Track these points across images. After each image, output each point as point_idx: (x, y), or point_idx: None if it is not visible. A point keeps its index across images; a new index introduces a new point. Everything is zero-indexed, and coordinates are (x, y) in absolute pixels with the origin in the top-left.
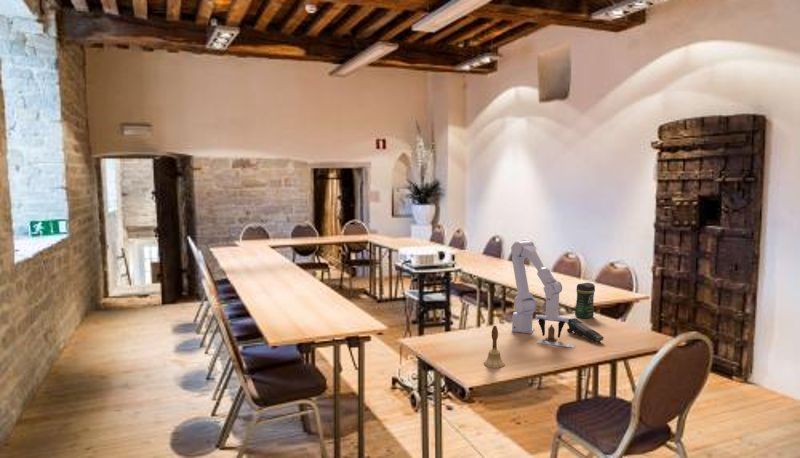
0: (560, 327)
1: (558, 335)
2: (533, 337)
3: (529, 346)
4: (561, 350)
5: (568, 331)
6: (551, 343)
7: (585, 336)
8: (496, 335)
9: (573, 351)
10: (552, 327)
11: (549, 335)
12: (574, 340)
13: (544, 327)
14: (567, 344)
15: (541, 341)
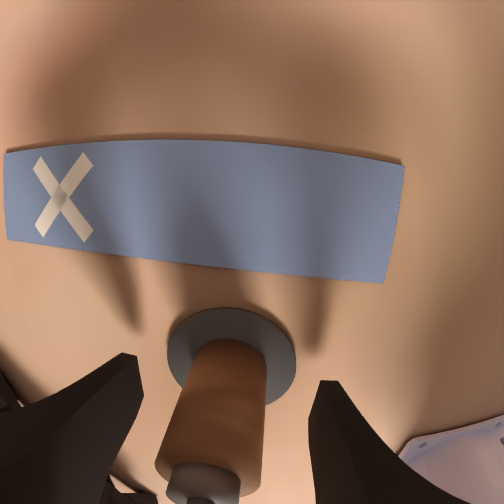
0: (11, 426)
1: (114, 365)
2: (415, 371)
3: (453, 33)
4: (98, 15)
5: (149, 495)
6: (207, 201)
7: (16, 406)
8: None
9: (16, 60)
10: (177, 486)
11: (243, 380)
12: (53, 373)
13: (321, 494)
14: (48, 234)
15: (350, 248)
